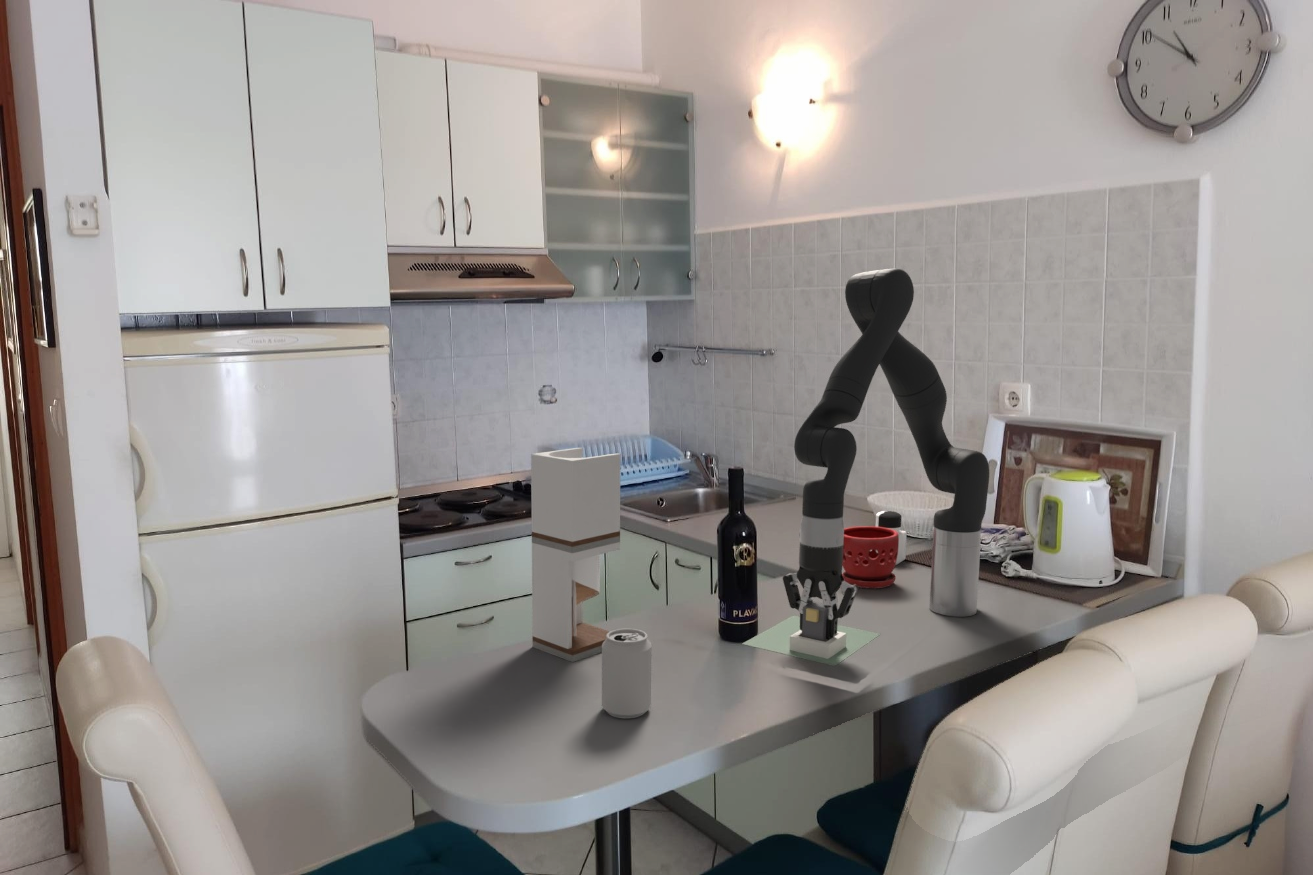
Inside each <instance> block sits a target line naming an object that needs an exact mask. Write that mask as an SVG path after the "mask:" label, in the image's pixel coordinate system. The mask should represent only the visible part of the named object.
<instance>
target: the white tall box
mask: <svg viewBox="0 0 1313 875" xmlns="http://www.w3.org/2000/svg"><path fill="white" fill-rule="evenodd" d="M583 452H584V448H583V447H574V448H566V449H558V450H552V451H544V452H537V453H536V452H535V453H531V454H530V459H531V461H530V462H531V463H530V466H531V468H530V470H531V471H530V472H531V476H530V477H531V478H530V481H531V482H530V483H531V490H530V492H531V500H530V501H531V502H530V503H531V598H532V599H531V610H532V612H531V614H532V616H531V617H532V618H531V619H532V622H531V623H532V624H531V625H532V628H531V629H532V641H531V642H532V643H531V644H532V648H533V649H534V648H535V649H537V650H540V651H541V652H545V653H547V654H550V655H553V656H554V657H555V656H556V657H558V658H561V659H563V660H566V661H569V662H571V663H574V662H577V661H579V660H583V659H586V658H589V657H590V656H594V655H597V654H600V653H602V644H603V642H604V641H605V640H606V639H607V638H606V635H607V633H609V632H610V631H609V630H606V629H603V628H601V627H597V626H595V625H591V624H588V623H585V622H584V619H583V618H584V616H583V614H584V612H583V611H584V610H583V603H584V602H585V601H588V600H590V599H592V598H595V597H596V596H599V595H600V555H603V554H608V553H611V552H616V551H620V550H621V458H622V457H621V453H617V452H616V453H609V454H603V455H596V456H588V457H583V456H584V455H583V454H584V453H583Z"/></svg>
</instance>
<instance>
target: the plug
mask: <svg viewBox="0 0 1313 875" xmlns="http://www.w3.org/2000/svg"><path fill="white" fill-rule="evenodd" d="M827 619H828V618H827V610H826V609H825V607H824V605H823V602H818V601H814V600H813V602H812V603H809V604H808V605H805V606H804V607H803V623H802V637H805V638H810V639H814V640H819V641H823V642H827V641H828V639H826V621H827Z"/></svg>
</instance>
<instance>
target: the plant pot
mask: <svg viewBox="0 0 1313 875" xmlns="http://www.w3.org/2000/svg"><path fill="white" fill-rule="evenodd" d="M898 545H899V536H898V532H897V531H895V530H892V529H889V528H884V527H876V526H875V525H874V526H873V525H872V526H871V525H869V526H868V525H867V526H866V525H863V526H850V527H846V528H845V527H844V542H843V566H842V569H844V572H842V575H843V578H844V581H845V582H847V583H849V584H851V585H854V584H856V585H857V586H858V588H861V589H882V588H887V587H889V586H891V585H892V584H894V583H895V582H896V574H895V573H893V571H894V568H895V566H896V565H895V564H896V561H897V556H898ZM870 550H872V551H870ZM876 550H877V551H878V553H877V552H876Z"/></svg>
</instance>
